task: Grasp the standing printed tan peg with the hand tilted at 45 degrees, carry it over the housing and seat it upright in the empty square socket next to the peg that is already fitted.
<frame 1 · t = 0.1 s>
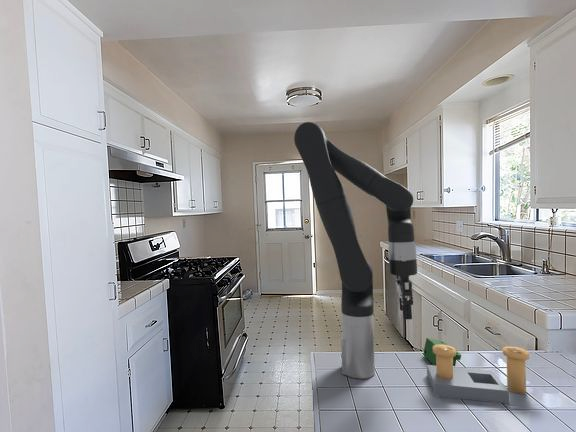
hand: (405, 314, 92), 17 cm above the counter, tool pointing down, fingers open, 8 cm apart
clamp: (442, 364, 100), on the counter
tan peg: (516, 389, 84), on the counter
housing: (463, 388, 85), on the counter
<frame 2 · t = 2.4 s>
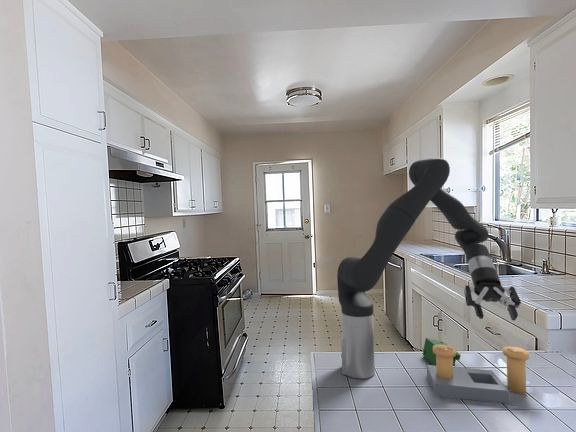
hand: (497, 318, 95), 15 cm above the counter, tool tilted 45°, fingers open, 8 cm apart
nothing on the counter moved.
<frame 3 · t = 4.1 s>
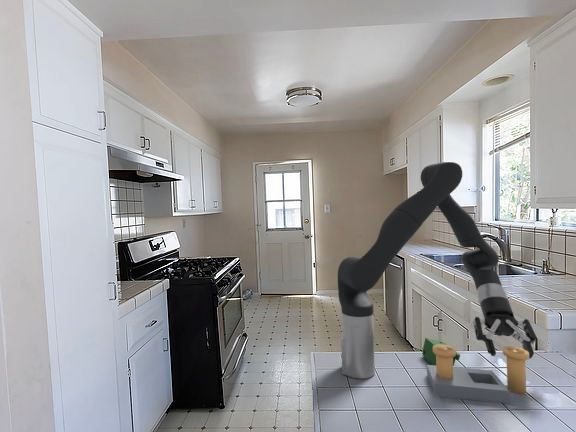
hand: (511, 356, 86), 8 cm above the counter, tool tilted 45°, fingers open, 8 cm apart
nothing on the counter moved.
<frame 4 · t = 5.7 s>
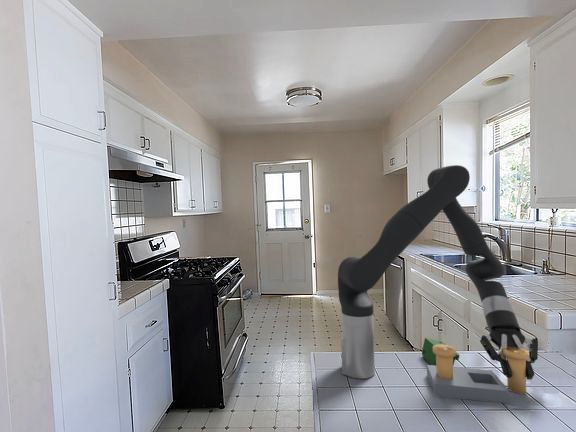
hand: (520, 377, 82), 4 cm above the counter, tool tilted 45°, fingers closed on tan peg, 4 cm apart
tan peg: (516, 389, 84), on the counter, touching gripper
everything else where it was.
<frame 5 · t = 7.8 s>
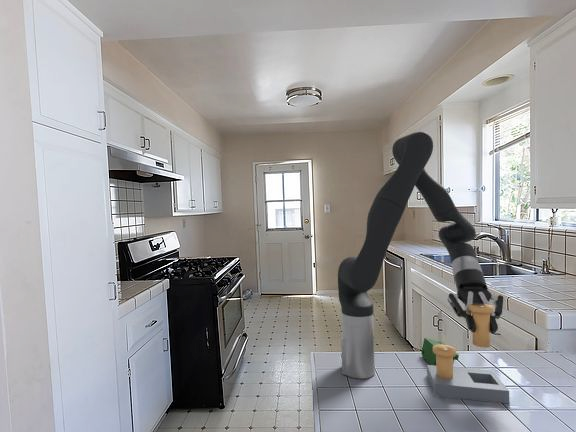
hand: (483, 331, 82), 16 cm above the counter, tool tilted 45°, fingers closed on tan peg, 4 cm apart
tan peg: (481, 344, 84), point 12 cm above the counter, touching gripper
everything else where it was.
when the fingers open (5 cm above the counter, at t = 10.0 s): tan peg drops 1 cm, resting on housing.
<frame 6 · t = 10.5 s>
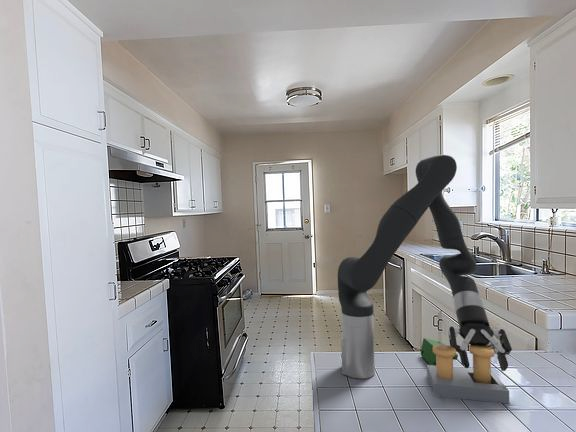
hand: (485, 368, 83), 6 cm above the counter, tool tilted 45°, fingers open, 8 cm apart
tan peg: (482, 387, 85), resting on housing
everything else where it was.
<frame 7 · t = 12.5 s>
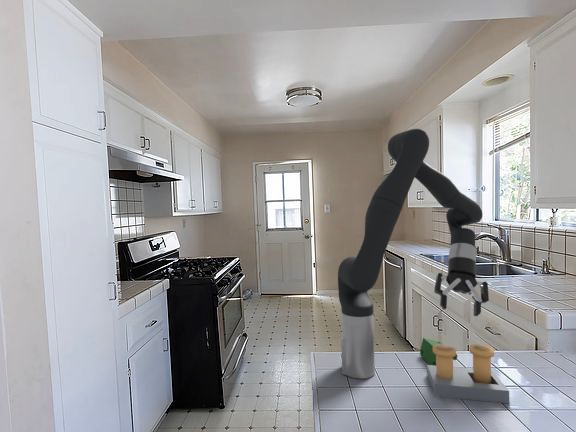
hand: (460, 312, 95), 17 cm above the counter, tool tilted 30°, fingers open, 8 cm apart
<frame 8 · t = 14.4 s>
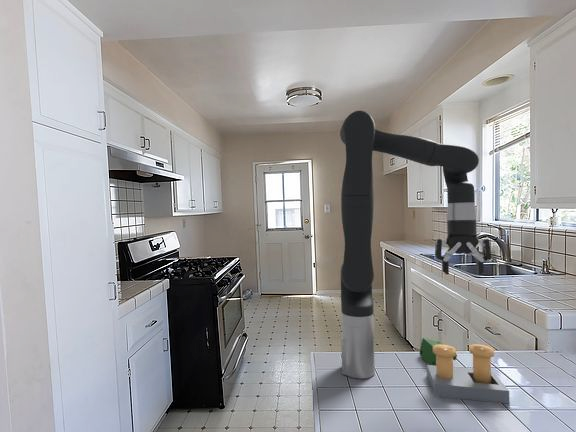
hand: (462, 274, 94), 28 cm above the counter, tool pointing down, fingers open, 8 cm apart
at the end: tan peg 0.8 cm from the target spot on the housing, point 0.4 cm above the housing's base; tan peg tilted 0°; the gripper is holding nothing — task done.
